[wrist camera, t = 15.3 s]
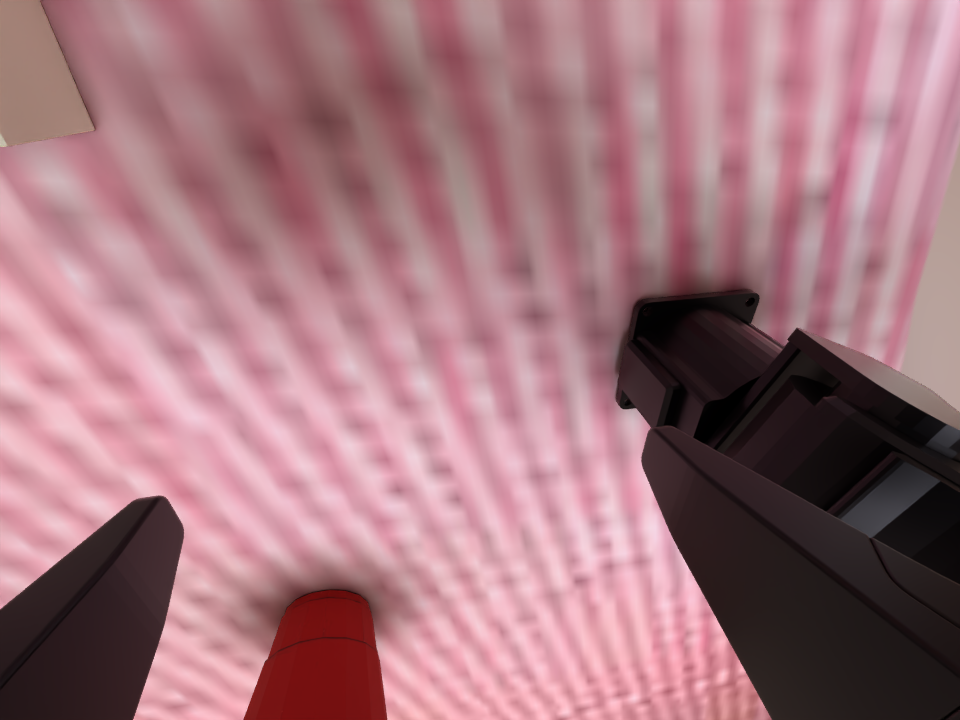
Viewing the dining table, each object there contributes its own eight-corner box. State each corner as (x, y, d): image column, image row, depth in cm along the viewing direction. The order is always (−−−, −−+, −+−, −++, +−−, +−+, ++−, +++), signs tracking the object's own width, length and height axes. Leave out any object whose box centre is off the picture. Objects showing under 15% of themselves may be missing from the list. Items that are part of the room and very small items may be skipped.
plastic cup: (205, 596, 27) (104, 891, 18) (375, 548, 28) (370, 808, 18) (283, 668, 34) (240, 918, 24) (421, 628, 34) (436, 856, 24)
